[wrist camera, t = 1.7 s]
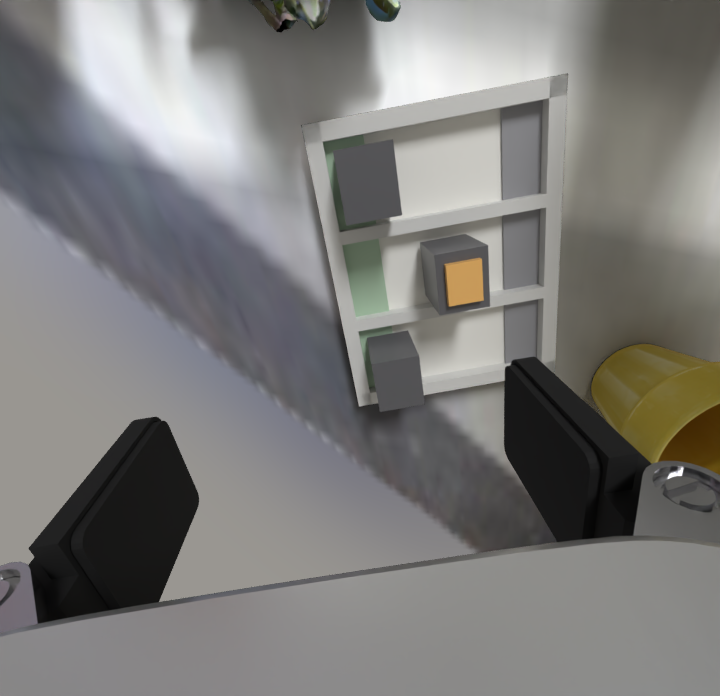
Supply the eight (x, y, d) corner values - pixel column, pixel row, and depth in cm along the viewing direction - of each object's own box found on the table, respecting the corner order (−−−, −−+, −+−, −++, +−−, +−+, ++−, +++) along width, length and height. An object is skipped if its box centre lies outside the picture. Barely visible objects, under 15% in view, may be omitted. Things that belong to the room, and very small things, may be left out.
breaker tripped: (465, 233, 25) (490, 246, 21) (468, 286, 27) (492, 308, 23) (419, 242, 25) (435, 256, 21) (425, 294, 27) (441, 317, 23)
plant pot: (581, 447, 36) (663, 540, 27) (553, 356, 31) (639, 430, 23) (697, 401, 34) (824, 483, 25) (684, 300, 30) (830, 355, 21)
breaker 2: (408, 330, 28) (419, 355, 24) (413, 373, 29) (424, 404, 26) (366, 337, 28) (371, 364, 24) (374, 380, 30) (379, 412, 26)
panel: (548, 81, 23) (568, 73, 21) (540, 359, 31) (554, 372, 29) (304, 128, 24) (301, 125, 22) (357, 391, 32) (359, 406, 30)
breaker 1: (383, 144, 23) (393, 138, 19) (392, 208, 24) (402, 215, 21) (333, 153, 23) (332, 150, 19) (345, 216, 24) (346, 225, 21)
